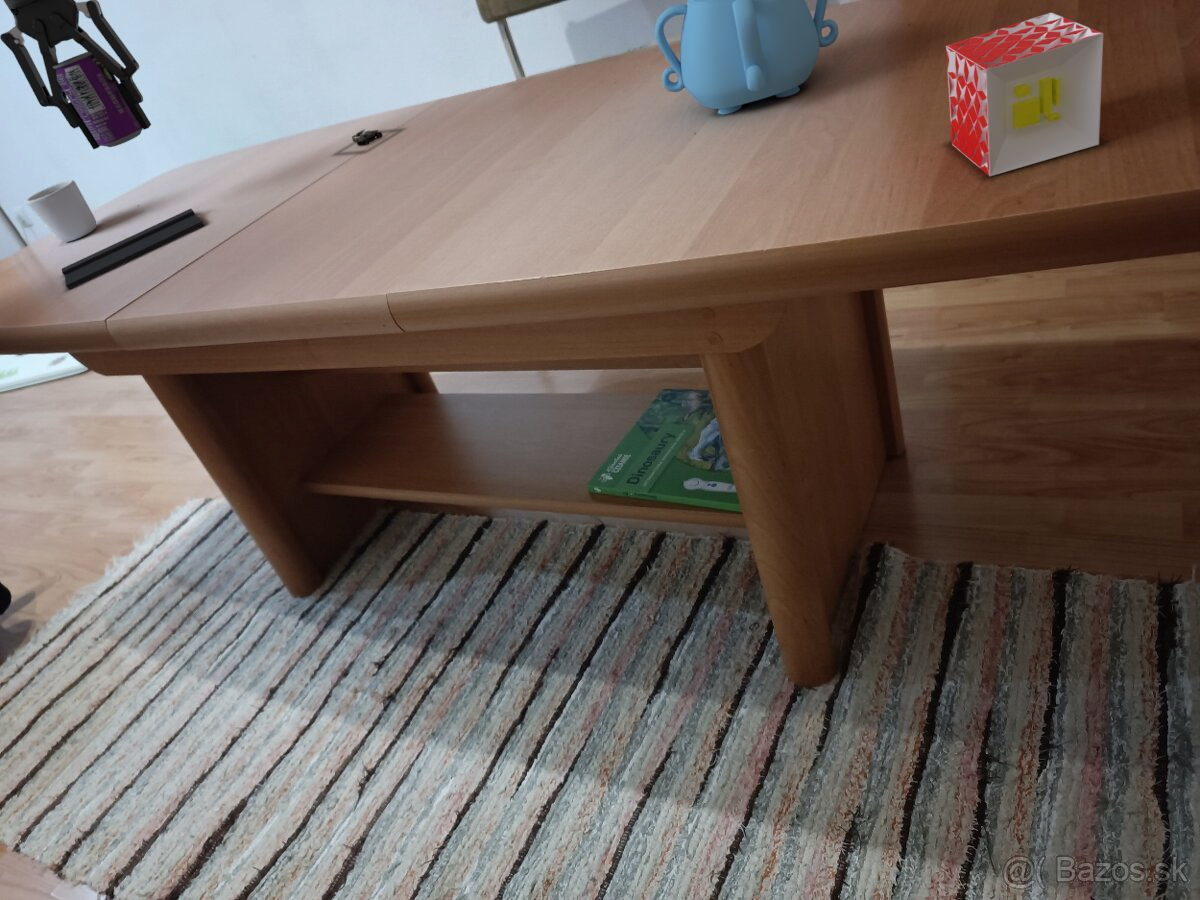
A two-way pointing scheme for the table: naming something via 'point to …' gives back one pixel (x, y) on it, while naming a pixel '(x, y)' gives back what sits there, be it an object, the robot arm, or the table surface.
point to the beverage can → (98, 100)
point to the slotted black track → (130, 248)
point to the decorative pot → (743, 49)
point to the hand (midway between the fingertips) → (122, 136)
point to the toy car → (366, 137)
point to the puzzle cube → (1025, 92)
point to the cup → (63, 211)
